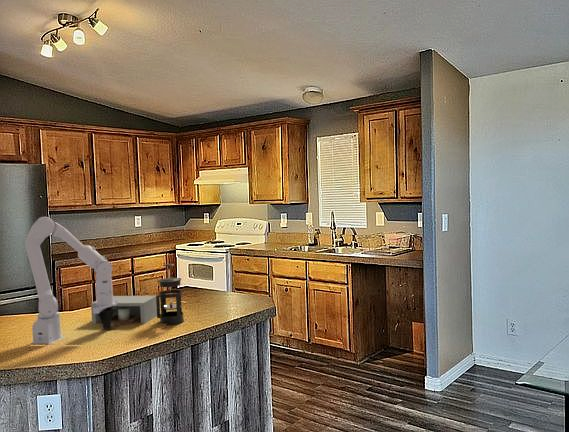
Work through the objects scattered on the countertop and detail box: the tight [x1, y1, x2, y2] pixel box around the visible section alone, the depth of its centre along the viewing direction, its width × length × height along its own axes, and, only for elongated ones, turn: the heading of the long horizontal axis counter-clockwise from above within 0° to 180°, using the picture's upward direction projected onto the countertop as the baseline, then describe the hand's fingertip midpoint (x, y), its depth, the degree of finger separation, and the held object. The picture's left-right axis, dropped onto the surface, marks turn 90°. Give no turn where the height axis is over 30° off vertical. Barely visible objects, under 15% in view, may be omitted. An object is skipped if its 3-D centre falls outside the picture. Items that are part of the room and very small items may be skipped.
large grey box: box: [90, 295, 157, 325], centre depth 209 cm, size 13×22×9 cm, turn 81°
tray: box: [102, 315, 141, 331], centre depth 203 cm, size 17×11×2 cm, turn 171°
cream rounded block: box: [118, 307, 130, 321], centre depth 208 cm, size 4×4×4 cm
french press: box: [155, 263, 185, 326], centre depth 203 cm, size 12×9×23 cm
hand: (106, 328), depth 194 cm, fingers closed
